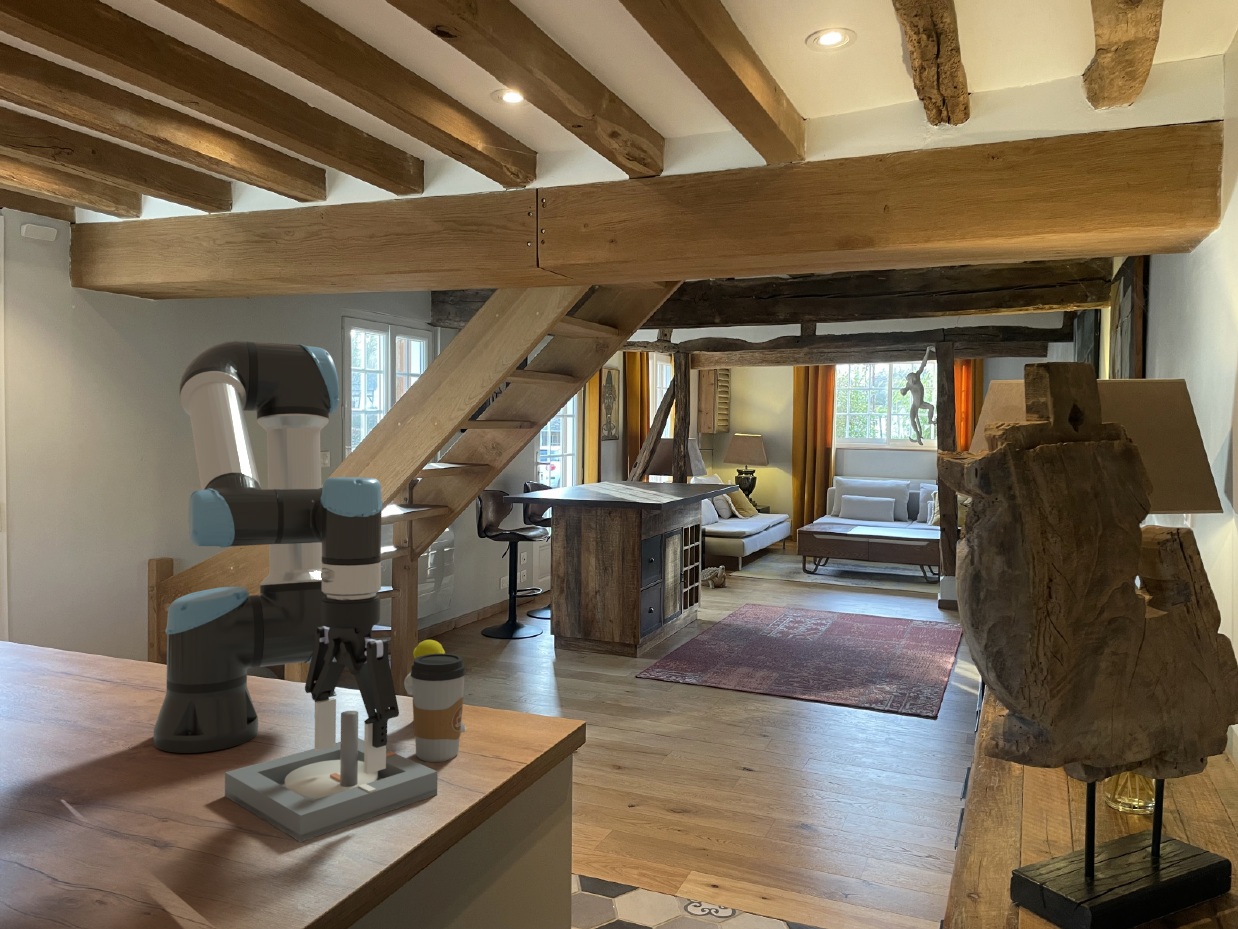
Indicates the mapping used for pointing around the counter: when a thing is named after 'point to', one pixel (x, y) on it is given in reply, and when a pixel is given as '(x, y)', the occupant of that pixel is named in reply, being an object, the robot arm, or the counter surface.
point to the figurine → (425, 649)
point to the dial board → (308, 819)
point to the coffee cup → (437, 705)
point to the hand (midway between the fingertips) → (349, 759)
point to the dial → (333, 767)
